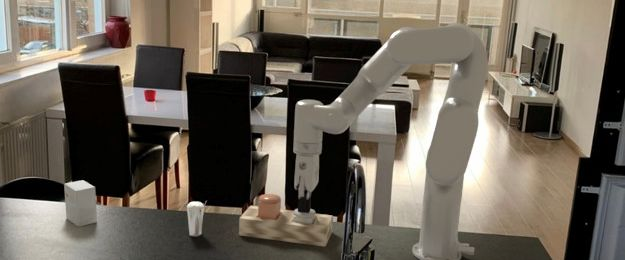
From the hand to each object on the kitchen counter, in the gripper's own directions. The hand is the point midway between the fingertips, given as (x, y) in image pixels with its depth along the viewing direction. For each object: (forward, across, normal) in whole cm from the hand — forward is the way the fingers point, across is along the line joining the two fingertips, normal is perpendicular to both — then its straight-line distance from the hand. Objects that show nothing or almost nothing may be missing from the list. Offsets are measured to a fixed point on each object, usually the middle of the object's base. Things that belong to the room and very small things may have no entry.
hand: (303, 211), depth 167 cm
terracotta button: (+3, 0, +10) cm, 10 cm away
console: (+7, 0, +5) cm, 9 cm away
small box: (+8, -9, +62) cm, 63 cm away
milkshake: (+8, -8, +28) cm, 30 cm away
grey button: (+6, 0, 0) cm, 6 cm away
